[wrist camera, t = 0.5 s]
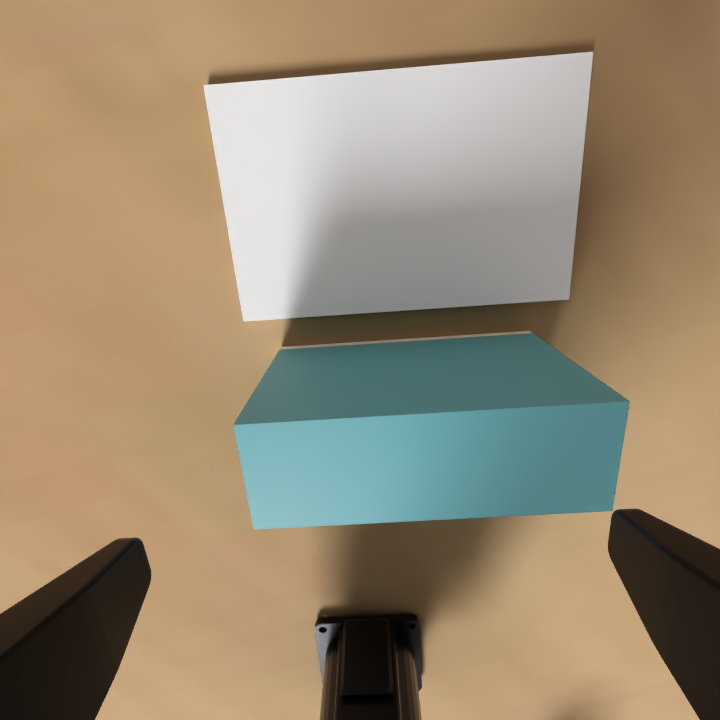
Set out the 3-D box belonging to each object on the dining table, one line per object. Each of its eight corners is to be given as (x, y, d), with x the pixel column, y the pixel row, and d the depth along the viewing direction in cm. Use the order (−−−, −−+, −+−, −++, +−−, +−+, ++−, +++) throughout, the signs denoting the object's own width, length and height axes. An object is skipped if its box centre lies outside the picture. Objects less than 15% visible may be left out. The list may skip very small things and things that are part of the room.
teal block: (524, 405, 21) (612, 511, 14) (291, 419, 22) (253, 529, 14) (529, 330, 20) (629, 401, 12) (281, 346, 20) (232, 424, 13)
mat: (565, 297, 19) (569, 299, 19) (245, 319, 20) (243, 321, 19) (588, 55, 16) (593, 51, 16) (207, 88, 17) (203, 85, 16)
